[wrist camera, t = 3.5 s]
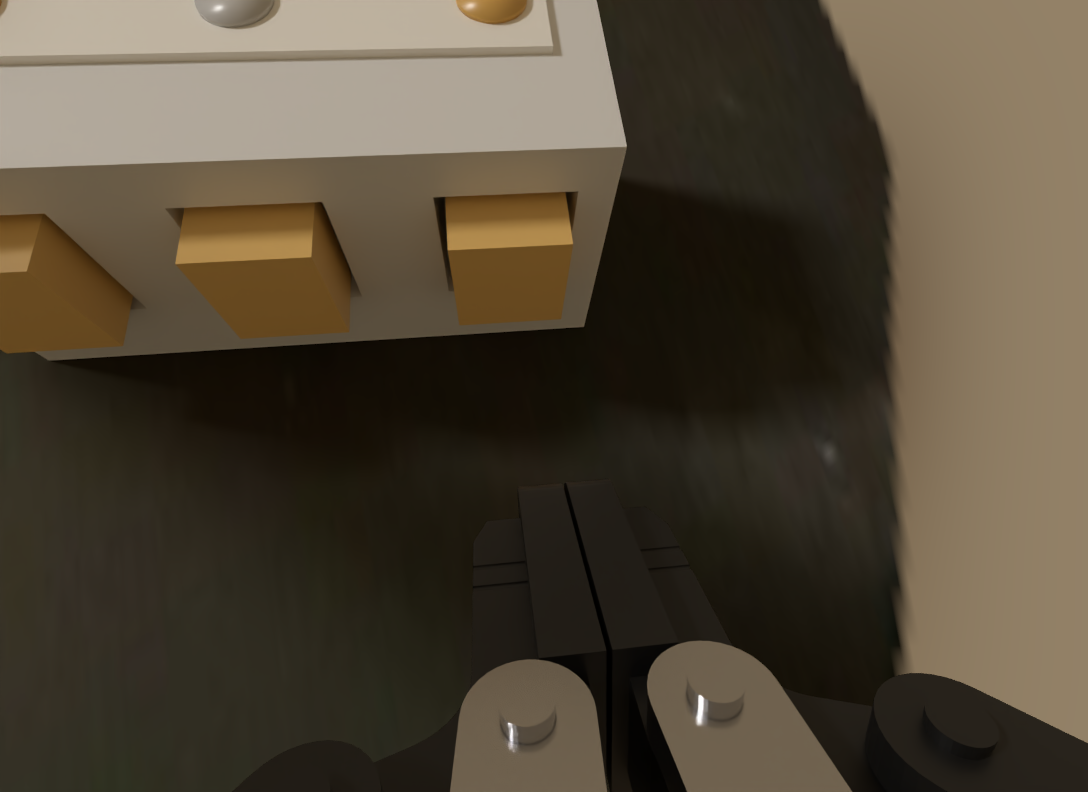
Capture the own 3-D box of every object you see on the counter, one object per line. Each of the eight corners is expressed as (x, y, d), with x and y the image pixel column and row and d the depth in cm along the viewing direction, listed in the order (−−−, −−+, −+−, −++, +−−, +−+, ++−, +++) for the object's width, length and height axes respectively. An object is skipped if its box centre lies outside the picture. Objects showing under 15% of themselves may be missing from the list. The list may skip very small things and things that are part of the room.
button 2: (459, 325, 25) (447, 250, 20) (456, 267, 26) (444, 183, 21) (560, 319, 26) (573, 244, 21) (553, 261, 27) (563, 178, 22)
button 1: (6, 353, 23) (-122, 278, 19) (24, 289, 25) (-93, 204, 20) (123, 346, 24) (26, 271, 19) (135, 284, 25) (47, 198, 20)
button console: (48, 360, 28) (-269, 164, 17) (93, 182, 32) (-136, -73, 21) (583, 327, 30) (629, 134, 19) (560, 164, 35) (585, -73, 23)
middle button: (240, 338, 24) (175, 263, 19) (247, 278, 25) (187, 193, 21) (349, 332, 25) (311, 257, 20) (351, 272, 26) (315, 188, 21)
